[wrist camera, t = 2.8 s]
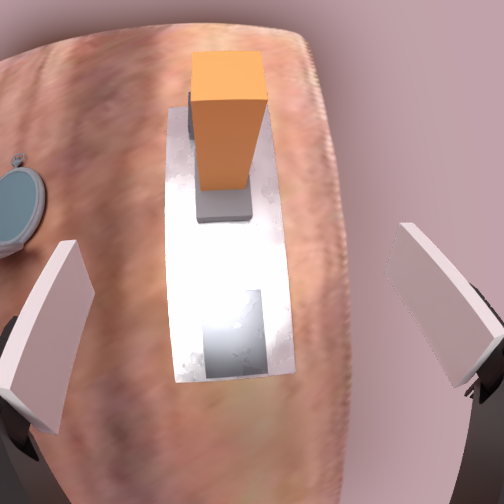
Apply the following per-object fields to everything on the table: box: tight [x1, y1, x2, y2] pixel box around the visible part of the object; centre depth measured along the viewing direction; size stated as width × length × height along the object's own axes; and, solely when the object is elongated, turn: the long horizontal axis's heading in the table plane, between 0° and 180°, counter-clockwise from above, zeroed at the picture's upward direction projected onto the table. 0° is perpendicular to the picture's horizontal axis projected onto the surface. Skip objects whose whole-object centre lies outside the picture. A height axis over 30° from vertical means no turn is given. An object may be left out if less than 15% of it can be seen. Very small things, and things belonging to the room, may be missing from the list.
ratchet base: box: [165, 92, 296, 383], centre depth 27 cm, size 28×11×4 cm, turn 5°
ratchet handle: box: [191, 51, 268, 222], centre depth 22 cm, size 20×5×14 cm, turn 5°
